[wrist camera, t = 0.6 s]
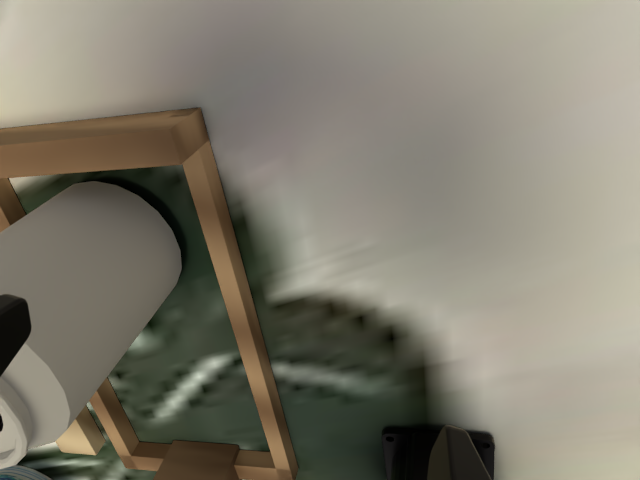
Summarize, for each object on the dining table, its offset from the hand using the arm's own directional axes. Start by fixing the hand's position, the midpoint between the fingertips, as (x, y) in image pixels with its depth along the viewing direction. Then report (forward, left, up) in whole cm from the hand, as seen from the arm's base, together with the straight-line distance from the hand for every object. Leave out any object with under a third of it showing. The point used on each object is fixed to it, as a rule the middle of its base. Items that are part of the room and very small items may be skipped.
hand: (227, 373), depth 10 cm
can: (-4, +12, -14) cm, 19 cm away
